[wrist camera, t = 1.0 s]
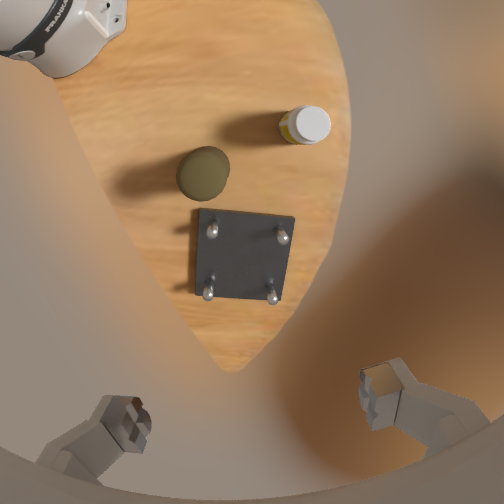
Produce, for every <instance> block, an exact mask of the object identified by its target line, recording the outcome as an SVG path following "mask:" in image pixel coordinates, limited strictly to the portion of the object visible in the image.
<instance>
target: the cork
mask: <svg viewBox="0 0 504 504" xmlns="http://www.w3.org/2000/svg"><path fill="white" fill-rule="evenodd" d="M229 172H230V163H229V160H228V158H227V156H226V155H225V154H224V152H223V151H221V150H220V149H218V148H216V147H211V146H205V147H201V148H198V149H196V150H195V151H193V152H192V153H191V154H189V155H188V156H186V157H185V158H184V159H183V160H182V161H181V163H180V165H179V166H178V169H177V174H176V179H177V184H178V187H179V189H180V191H181V192H182V193H183V194H184V195H185V196H186V197H188V198H190V199H192V200H195V201H208V200H211V199H213V198H215V197H216V196H218V195H219V194H220V193H221V192H222V190H223V189H224V187H225V185H226V181H227V178H228V176H229Z"/></svg>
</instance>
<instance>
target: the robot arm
mask: <svg viewBox="0 0 504 504" xmlns="http://www.w3.org/2000/svg"><path fill="white" fill-rule="evenodd" d="M126 9H127V0H0V55H2V56H5V57H9V58H11V59H14V60H23V61H28V62H30V63H31V64H33V65H34V66H36V67H37V68H38V69H39V70H40V71H41V72H42V73H43V74H44V75H46V76H48V77H52V78H60V77H65V76H68V75H70V74H73V73H75V72H76V71H78V70H80V69H81V68H83V67H84V66H85V65H87V64H88V63H89V62H90V61H91V60H92V59H93V58H94V57H95V56H96V55H97V54H98V53H99V51H100V50H101V49H102V48H103V46H104V45H105V44H106V43H107V42H108V41H110V40H112V39H113V38H115V37H116V36H118V35H119V34H120V33H121V32H123V30H124V29H125V26H126ZM118 19H119V21H118V22H116V20H118ZM115 22H116V23H115ZM359 378H360V380H361V382H362V383H361V384H360V386H359V399H360V403H361V406H362V409H363V410H364V411H366V412H367V421H368V423H369V426H370V428H371V430H372V431H375V430H378V429H382V428H385V427H388V426H392V425H394V426H395V427H397V428H398V429H400V430H402V431H403V432H405V433H406V434H408V435H409V436H411V437H413V438H414V439H416V440H417V441H419V442H421V443H422V444H424V445H426V446H427V447H428V448H427V450H426V453H425V455H424V457H423V459H422V460H420V461H417V462H415V463H412V464H410V465H407V466H405V467H402V468H400V469H397V470H394V471H391V472H388V473H385V474H382V475H380V476H376V477H373V478H370V479H366V480H363V481H359V482H356V483H352V484H348V485H344V486H340V487H336V488H331V489H327V490H322V491H316V492H311V493H305V494H299V495H291V496H284V497H275V498H264V499H251V500H250V499H249V500H195V499H180V498H170V497H161V496H153V495H146V494H140V493H134V492H129V491H124V490H119V489H114V488H110V487H106V486H104V485H102V483H101V482H99V481H98V480H97V478H98V477H99V476H100V475H101V474H102V473H103V472H104V471H106V470H107V469H108V468H109V467H110V466H111V465H112V464H113V463H114V462H115V461H116V460H117V459H118V458H120V457H121V456H122V455H123V454H124V452H130V453H141V454H142V453H143V451H144V448H145V445H146V442H147V441H146V439H145V437H146V436H147V435H148V434H149V433H150V431H151V418H150V415H149V414H148V412H147V411H146V410H145V409H143V408H142V405H143V403H142V401H141V400H140V398H139V397H133V396H113V395H105V396H103V397H102V399H101V400H100V402H99V404H98V406H97V407H96V409H95V411H94V412H93V414H92V416H91V417H90V419H89V421H87V420H85V421H84V422H82V423H81V424H79V425H77V426H76V427H74V428H73V429H71V430H69V431H68V432H66V433H64V434H63V435H61V436H60V437H58V438H56V439H54V440H53V441H51V442H49V443H48V444H46V446H45V448H44V449H43V451H42V453H41V454H40V456H39V458H38V459H37V461H36V463H34V462H31V461H29V460H27V459H25V458H23V457H20V456H18V455H16V454H14V453H12V452H10V451H8V450H6V449H4V448H2V447H0V504H504V414H503V415H502V416H500V417H499V418H497V419H496V420H494V421H493V422H492V423H490V421H489V420H488V419H487V417H486V416H485V415H484V413H483V412H482V411H481V409H480V408H479V407H478V405H477V404H476V403H475V402H474V401H472V400H469V399H466V398H463V397H460V396H457V395H454V394H452V393H449V392H446V391H443V390H441V389H438V388H435V387H433V386H430V385H427V384H425V383H421V384H419V383H418V382H417V380H416V379H415V377H414V376H413V375H412V373H411V372H410V370H409V369H408V368H407V366H406V365H405V363H404V362H403V361H402V359H401V358H396V359H393V360H390V361H387V362H384V363H381V364H377V365H374V366H371V367H367V368H364V369H360V373H359Z"/></svg>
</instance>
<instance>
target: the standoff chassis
mask: <svg viewBox="0 0 504 504" xmlns="http://www.w3.org/2000/svg"><path fill="white" fill-rule="evenodd" d="M294 223H295V218H294V217H292V216H283V215H273V214H263V213H253V212H243V211H232V210H220V209H208V208H200V211H199V225H198V241H197V260H196V283H195V295H197V296H203V299H204V300H205V301H211V300H212V299H213V297H224V298H239V299H255V300H268V303H269V304H270V305H275V304H277V302H278V301H280V300H281V295H282V290H283V285H284V279H285V274H286V268H287V263H288V257H289V252H290V246H291V240H292V234H293V229H294Z"/></svg>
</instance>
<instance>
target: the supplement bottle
mask: <svg viewBox="0 0 504 504" xmlns="http://www.w3.org/2000/svg"><path fill="white" fill-rule="evenodd" d="M330 128H331V122H330V118H329V116H328V114H327V113H326V112H325V111H324V110H323V109H321V108H319V107H316V106H308V105H304V106H299V107H297V108H295V109H293V110H291V111H289V112H287V113H285V114H284V115H283V116H282V117H281V119H280V121H279V132H280V134H281V136H282V138H283V139H284V140H285V141H287V142H289V143H291V144H296V145H297V144H299V145H311V144H315V143H317V142H319V141H320V140H322V139H324V138H325V137H326V136H327V135H328V133H329V131H330Z"/></svg>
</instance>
